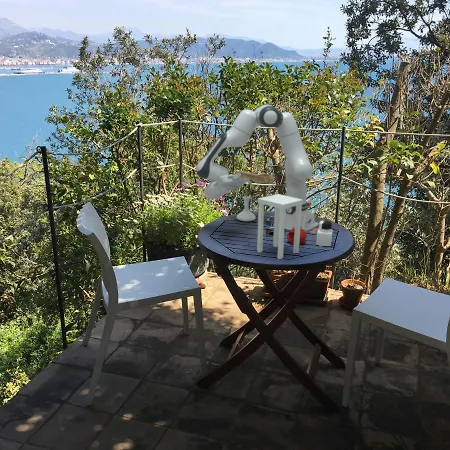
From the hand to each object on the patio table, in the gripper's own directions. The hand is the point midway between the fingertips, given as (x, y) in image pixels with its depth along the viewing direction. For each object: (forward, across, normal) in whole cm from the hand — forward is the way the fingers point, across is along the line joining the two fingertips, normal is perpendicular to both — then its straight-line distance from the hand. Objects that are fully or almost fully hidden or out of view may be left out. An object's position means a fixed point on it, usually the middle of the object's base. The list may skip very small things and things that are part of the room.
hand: (243, 173), depth 221 cm
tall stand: (+3, 0, +42) cm, 42 cm away
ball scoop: (+4, 0, +4) cm, 6 cm away
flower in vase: (-38, +28, +18) cm, 51 cm away
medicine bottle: (+10, +26, +46) cm, 54 cm away
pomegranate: (+1, +18, +40) cm, 44 cm away
